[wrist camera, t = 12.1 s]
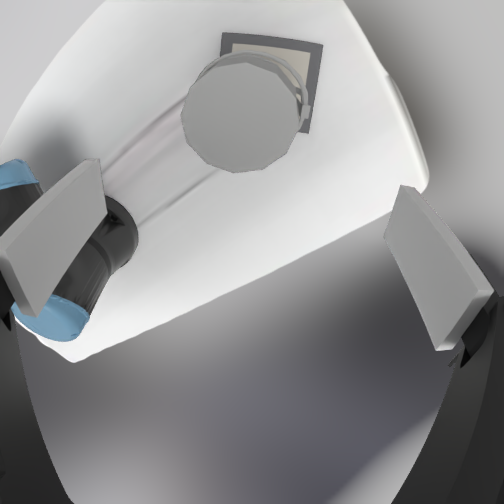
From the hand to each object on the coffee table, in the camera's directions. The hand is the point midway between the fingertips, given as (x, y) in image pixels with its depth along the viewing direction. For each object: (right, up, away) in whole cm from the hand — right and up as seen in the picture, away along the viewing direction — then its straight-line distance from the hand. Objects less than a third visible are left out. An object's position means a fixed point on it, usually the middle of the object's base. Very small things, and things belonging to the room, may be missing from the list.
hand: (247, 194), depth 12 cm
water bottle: (+1, +20, +23) cm, 30 cm away
